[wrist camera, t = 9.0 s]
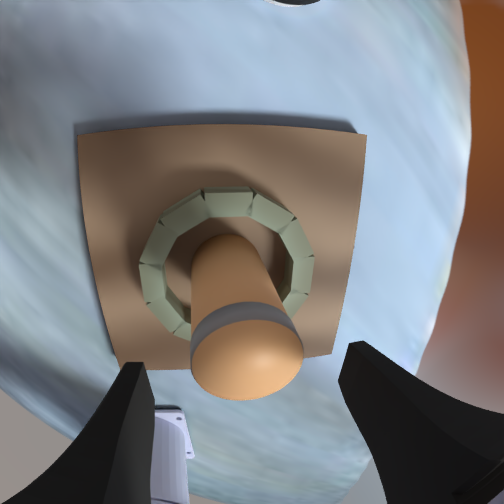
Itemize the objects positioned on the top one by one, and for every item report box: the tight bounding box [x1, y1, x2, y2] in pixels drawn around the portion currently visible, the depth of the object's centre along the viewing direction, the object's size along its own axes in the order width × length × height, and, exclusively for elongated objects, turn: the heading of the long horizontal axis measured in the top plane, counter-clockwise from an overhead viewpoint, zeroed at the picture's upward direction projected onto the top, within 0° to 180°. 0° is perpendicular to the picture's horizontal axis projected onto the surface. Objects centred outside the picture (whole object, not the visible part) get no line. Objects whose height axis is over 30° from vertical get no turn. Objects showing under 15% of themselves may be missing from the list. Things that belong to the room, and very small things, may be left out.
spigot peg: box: [190, 234, 304, 400], centre depth 14 cm, size 4×4×8 cm
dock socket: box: [77, 124, 367, 370], centre depth 17 cm, size 16×16×2 cm
